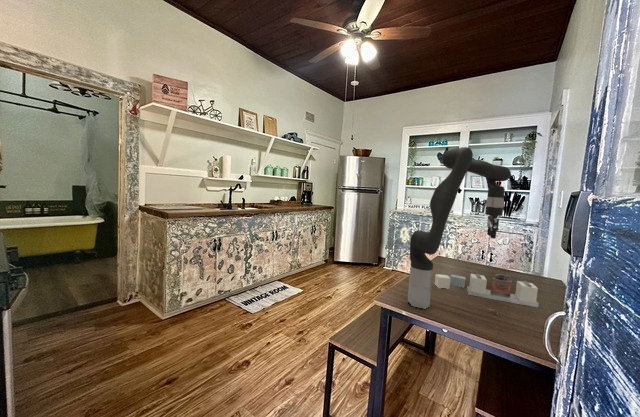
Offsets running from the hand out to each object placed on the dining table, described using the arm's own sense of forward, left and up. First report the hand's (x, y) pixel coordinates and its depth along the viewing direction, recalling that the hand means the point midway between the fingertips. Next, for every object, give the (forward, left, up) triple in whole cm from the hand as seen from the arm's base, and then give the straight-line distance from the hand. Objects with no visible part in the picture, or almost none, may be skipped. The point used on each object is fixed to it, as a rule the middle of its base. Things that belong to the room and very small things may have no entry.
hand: (491, 236), depth 132 cm
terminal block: (-1, +13, -29) cm, 32 cm away
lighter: (-9, -4, -27) cm, 29 cm away
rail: (-9, -5, -29) cm, 30 cm away
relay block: (-8, +21, -29) cm, 37 cm away
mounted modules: (-9, -5, -27) cm, 29 cm away
